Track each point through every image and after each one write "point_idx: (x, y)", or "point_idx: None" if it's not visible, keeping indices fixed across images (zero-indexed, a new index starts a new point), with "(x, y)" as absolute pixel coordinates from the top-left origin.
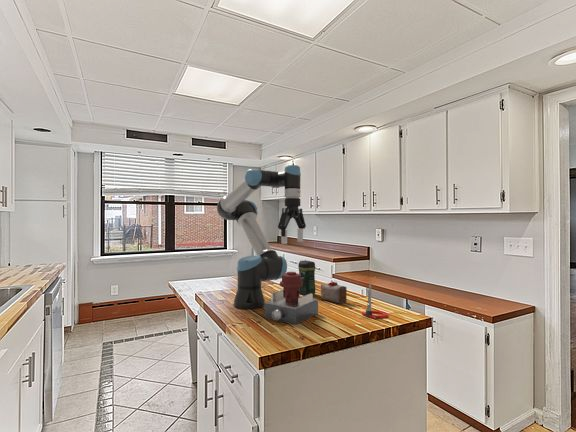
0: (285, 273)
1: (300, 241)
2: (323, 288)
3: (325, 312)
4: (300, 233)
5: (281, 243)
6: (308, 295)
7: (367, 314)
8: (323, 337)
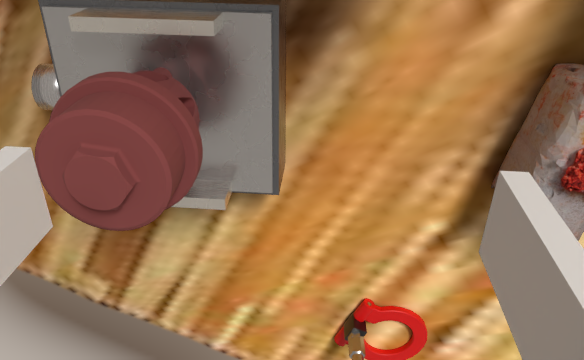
0: (105, 118)
1: (488, 229)
2: (565, 109)
3: (322, 179)
4: (538, 339)
5: (3, 148)
6: (183, 207)
7: (348, 322)
8: (81, 269)
